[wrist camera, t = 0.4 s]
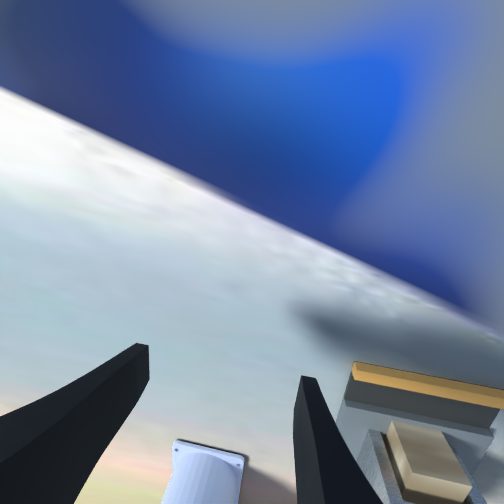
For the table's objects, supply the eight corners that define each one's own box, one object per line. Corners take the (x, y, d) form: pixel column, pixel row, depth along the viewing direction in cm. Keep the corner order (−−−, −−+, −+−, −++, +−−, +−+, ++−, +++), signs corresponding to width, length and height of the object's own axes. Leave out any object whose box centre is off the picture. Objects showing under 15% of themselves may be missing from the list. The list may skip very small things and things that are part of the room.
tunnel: (434, 484, 23) (479, 584, 18) (354, 465, 24) (373, 556, 19) (454, 447, 22) (511, 544, 16) (368, 428, 23) (393, 515, 17)
